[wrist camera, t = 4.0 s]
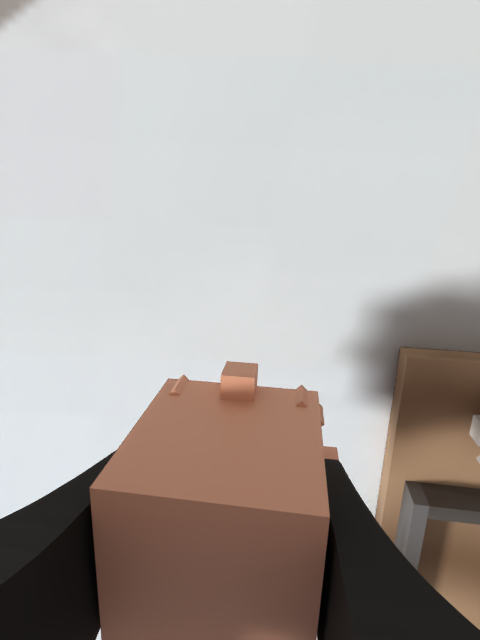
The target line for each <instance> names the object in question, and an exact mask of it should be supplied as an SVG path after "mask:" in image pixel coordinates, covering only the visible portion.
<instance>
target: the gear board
mask: <svg viewBox="0 0 480 640" xmlns="http://www.w3.org/2000/svg"><path fill="white" fill-rule="evenodd" d="M375 519H376V521H377V522H378V523H379V525H380V526H381V527H382V529H383V530H384V531H385V533H386V534H387V535H388V537H389V538H390V539H391V540H392V542H393V543H394V544H395V546H396V547H397V548H398V549H399V550H400V552H401V553H402V554H403V555H404V556H405V558H406V559H407V560H408V561H409V562H410V563H411V564H412V566H413V567H414V568H415V569H416V570H417V571H418V572H419V573H420V574H421V575H422V576H423V577H424V579H425V580H426V581H427V582H428V583H429V584H430V585H431V586H432V587H433V588H434V589H435V590H436V591H438V592H439V593H440V594H441V595H442V596H443V597H444V598H445V599H446V600H447V601H448V602H449V603H450V604H451V605H452V606H453V607H454V608H456V609H457V610H458V611H459V612H460V613H461V614H462V615H463V616H464V617H465V618H467V619H468V620H469V621H470V622H471V623H472V624H473V625H475V626H476V627H477V628H478V629H479V630H480V353H475V352H461V351H448V350H434V349H420V348H407V347H400V354H399V360H398V367H397V374H396V381H395V387H394V394H393V401H392V408H391V414H390V421H389V428H388V435H387V441H386V448H385V455H384V462H383V468H382V475H381V482H380V489H379V495H378V502H377V509H376V516H375Z"/></svg>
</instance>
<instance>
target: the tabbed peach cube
mask: <svg viewBox="0 0 480 640" xmlns="http://www.w3.org/2000/svg"><path fill="white" fill-rule="evenodd" d="M257 375H258V364H254V363H241V362H229V361H227V362H226V365H225V367H224V369H223V372H222V374H221V383H214V382H203V381H191V380H189V379H188V378H187V377H186V376H185V375H183V376H182V377H180V378H179V379H168V380H167V381H166V383H165V384H164V386H163V387H162V388H161V390H160V391H159V392H158V394H157V395H156V397H155V398H154V399H153V401H152V402H151V404H150V405H149V406H148V408H147V409H146V410H145V412H144V413H143V415H142V416H141V417H140V419H139V420H138V422H137V423H136V424H135V426H134V427H133V428H132V430H131V431H130V433H129V434H128V435H127V437H126V438H125V439H124V441H123V442H122V444H121V445H120V446H119V448H118V449H117V451H116V452H115V453H114V455H113V456H112V457H111V459H110V460H109V462H108V463H107V464H106V466H105V467H104V469H103V470H102V471H101V473H100V474H99V475H98V477H97V478H96V480H95V481H94V482H93V484H92V485H91V487H90V501H91V513H92V526H93V538H94V551H95V563H96V575H97V588H98V600H99V613H100V625H101V638H102V640H316V638H317V629H318V620H319V611H320V602H321V593H322V584H323V575H324V566H325V557H326V548H327V539H328V530H329V521H330V513H329V503H328V492H327V482H326V471H325V461H324V459H334V460H339V459H338V452H337V448H336V447H326V446H323V440H322V430H321V427H322V426H323V425H324V417H323V408H322V406H321V405H320V404H319V398H318V392H317V391H307V390H306V389H305V388H304V387H303V385H301V386H299V387H298V388H297V389H296V390H294V389H283V388H271V387H260V386H257Z"/></svg>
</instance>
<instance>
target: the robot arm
mask: <svg viewBox="0 0 480 640" xmlns="http://www.w3.org/2000/svg"><path fill="white" fill-rule="evenodd" d="M116 451H117V450H116ZM116 451H114V452H113V453H111V454H110V455H109V456H107V457H106V458H104V459H103V460H101V461H100V462H98V463H97V464H95V465H94V466H92V467H91V468H89V469H88V470H86V471H85V472H83V473H82V474H80V475H79V476H77V477H76V478H74V479H72V480H71V481H69V482H67V483H66V484H64V485H62V486H61V487H59V488H57V489H56V490H54V491H53V492H51V493H49V494H48V495H46V496H44V497H42V498H41V499H39V500H37V501H35V502H33V503H31V504H30V505H28V506H26V507H24V508H22V509H20V510H18V511H16V512H14V513H12V514H10V515H8V516H6V517H4V518H2V519H0V640H95V639H96V637H97V634H98V632H99V630H100V628H101V625H100V613H99V600H98V588H97V575H96V563H95V551H94V538H93V526H92V513H91V501H90V487H91V485H92V484H93V482H94V481H95V480H96V478H97V477H98V475H99V474H100V473H101V471H102V470H103V469H104V467H105V466H106V464H107V463H108V462H109V460H110V459H111V457H112V456H113V455H114V453H115V452H116ZM324 461H325V471H326V482H327V492H328V503H329V513H330V521H329V530H328V539H327V548H326V557H325V566H324V575H323V584H322V593H321V602H320V611H319V620H318V629H317V639H318V640H480V630H479V629H478V628H477V627H476V626H475V625H473V624H472V623H471V622H470V621H469V620H468V619H467V618H465V617H464V616H463V615H462V614H461V613H460V612H459V611H458V610H457V609H456V608H454V607H453V606H452V605H451V604H450V603H449V602H448V601H447V600H446V599H445V598H444V597H443V596H442V595H441V594H440V593H439V592H438V591H436V590H435V589H434V588H433V587H432V586H431V585H430V584H429V583H428V582H427V581H426V580H425V579H424V577H423V576H422V575H421V574H420V573H419V572H418V571H417V570H416V569H415V568H414V567H413V566H412V564H411V563H410V562H409V561H408V560H407V559H406V558H405V556H404V555H403V554H402V553H401V552H400V550H399V549H398V548H397V547H396V546H395V544H394V543H393V542H392V540H391V539H390V538H389V537H388V535H387V534H386V533H385V531H384V530H383V529H382V527H381V526H380V525H379V523H378V522H377V521H376V519H375V518H374V516H373V515H372V513H371V512H370V510H369V509H368V507H367V506H366V505H365V503H364V502H363V500H362V498H361V497H360V495H359V494H358V492H357V491H356V489H355V487H354V486H353V484H352V482H351V480H350V479H349V477H348V475H347V473H346V472H345V470H344V468H343V466H342V464H341V463H340V462H339V460H334V459H324Z"/></svg>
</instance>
